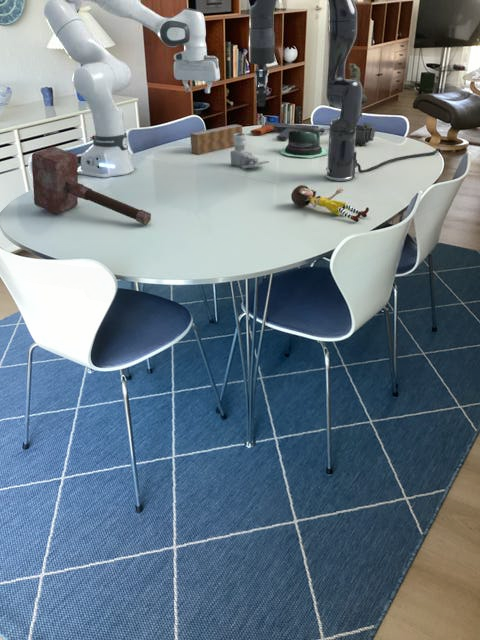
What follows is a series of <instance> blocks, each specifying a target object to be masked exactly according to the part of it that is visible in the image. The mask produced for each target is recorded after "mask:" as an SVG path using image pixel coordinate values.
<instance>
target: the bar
mask: <svg viewBox="0 0 480 640" xmlns="http://www.w3.org/2000/svg"><path fill="white" fill-rule="evenodd" d="M236 133H243V125H240V124H235V123H234V124H229V125H225V126H221V127H216V128H211V129H206V130H205V129H204V130H200V131H194V132H191V133H189V135H190V149H191V150H190V151H191V153H192V154H195V155H202V154H206V153H207V154H208V153H211V152H215V151H220V150H225V149H228V148H233V147H235V141H234V134H236Z"/></svg>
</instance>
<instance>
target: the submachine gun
mask: <svg viewBox="0 0 480 640" xmlns="http://www.w3.org/2000/svg"><path fill="white" fill-rule="evenodd" d="M298 128H311V129H316V130H318V131H319V132H320V136H322V135H323V134H324V133H325V132H326V130H325V129H324V127H322V128H321V127H320V128H319V126H317V125H310V124H309V125H308V124H297V123H296V124H295V123H284V122H272V121H270V122H269V121H268V122H264V124H262V125H261V126H260V127H257V128H253V129H251V130H250V134H252V135H254V136H261V135H265V134H266V133H270V132H271V133H272V132H276V133H278V135H277V137H276V139H277V140H279V141H287V140H288V139H289V131H291V130H294V129H298Z"/></svg>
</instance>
